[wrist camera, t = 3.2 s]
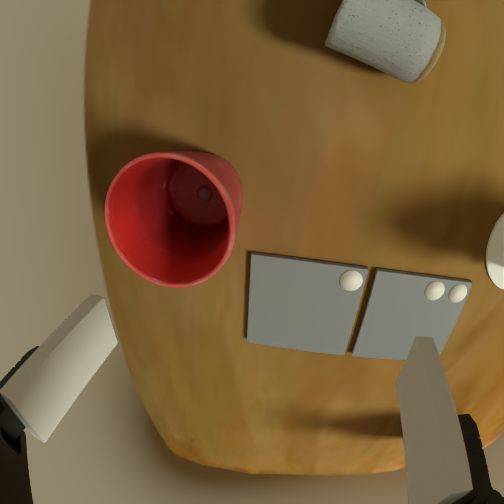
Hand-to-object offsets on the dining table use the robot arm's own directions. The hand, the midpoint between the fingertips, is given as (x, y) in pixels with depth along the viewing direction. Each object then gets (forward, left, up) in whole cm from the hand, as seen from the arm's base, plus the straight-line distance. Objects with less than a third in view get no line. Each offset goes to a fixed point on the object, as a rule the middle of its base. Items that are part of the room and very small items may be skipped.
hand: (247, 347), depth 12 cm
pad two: (+12, +16, -20) cm, 28 cm away
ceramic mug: (-18, +7, -20) cm, 28 cm away
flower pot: (0, -8, -20) cm, 22 cm away
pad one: (+12, +3, -20) cm, 23 cm away
